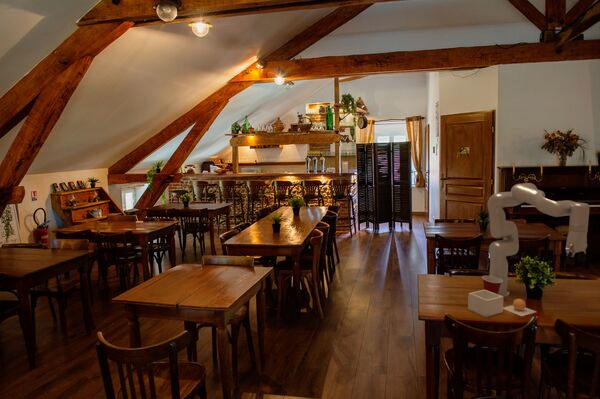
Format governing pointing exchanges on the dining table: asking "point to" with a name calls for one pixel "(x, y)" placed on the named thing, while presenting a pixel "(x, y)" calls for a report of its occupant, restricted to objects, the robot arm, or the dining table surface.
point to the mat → (519, 312)
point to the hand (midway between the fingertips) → (575, 262)
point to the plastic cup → (492, 283)
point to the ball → (519, 304)
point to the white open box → (485, 303)
